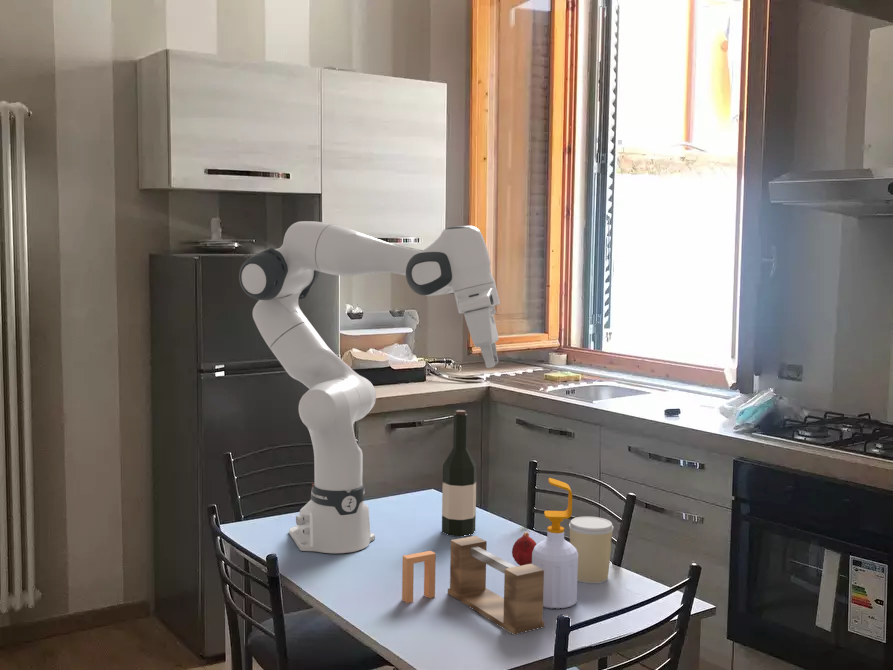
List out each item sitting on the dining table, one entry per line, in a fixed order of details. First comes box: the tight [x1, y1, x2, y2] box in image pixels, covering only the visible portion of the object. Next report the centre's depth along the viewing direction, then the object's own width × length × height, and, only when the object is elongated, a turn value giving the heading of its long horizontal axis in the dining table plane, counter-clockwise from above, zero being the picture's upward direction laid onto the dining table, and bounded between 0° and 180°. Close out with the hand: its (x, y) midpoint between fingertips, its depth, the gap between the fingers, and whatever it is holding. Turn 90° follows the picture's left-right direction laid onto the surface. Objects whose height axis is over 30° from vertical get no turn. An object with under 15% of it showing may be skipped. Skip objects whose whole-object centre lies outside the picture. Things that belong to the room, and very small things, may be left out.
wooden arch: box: [401, 550, 437, 604], centre depth 188 cm, size 2×6×9 cm, turn 121°
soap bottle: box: [532, 477, 578, 610], centre depth 187 cm, size 9×9×25 cm
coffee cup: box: [568, 515, 614, 584], centre depth 202 cm, size 9×9×12 cm
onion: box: [511, 531, 538, 566], centre depth 207 cm, size 6×6×8 cm
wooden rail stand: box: [447, 535, 546, 635], centre depth 183 cm, size 23×7×11 cm, turn 31°
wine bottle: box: [441, 409, 478, 537], centre depth 231 cm, size 8×8×30 cm
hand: (492, 366), depth 196 cm, fingers open, 8 cm apart
